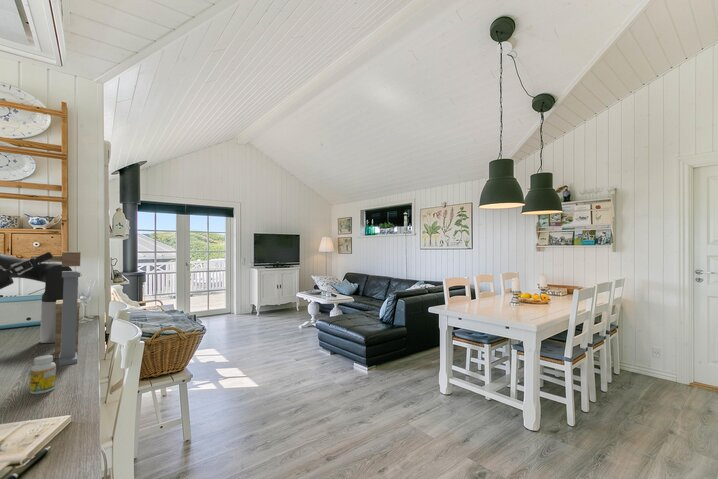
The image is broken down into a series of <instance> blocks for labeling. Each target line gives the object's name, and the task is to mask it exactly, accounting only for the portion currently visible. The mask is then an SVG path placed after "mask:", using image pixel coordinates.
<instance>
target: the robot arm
mask: <svg viewBox="0 0 718 479" xmlns="http://www.w3.org/2000/svg"><path fill="white" fill-rule="evenodd" d="M37 256H38V257H37V259H36V257H35V258H33V259H31V258H30V259H23V258H19V257H16V256H12V255H8V254H5V253H0V290H2V289H4V288H7V287H8V286H11V285H13V284H14V283H15V282H14V279H27V280H32V281H37V282H42V283H45V284H44V292H43V294H42V295H41V306H40V308H41V311H40V312H41V313H40V314H41V315H40V332H39V333H40V335H39V337H40V338H39V342H40V343H41V344H51V343H53V344H54V343H55V330H56V300H63V284H64V277H62V271H73V270H72V268H71V266H65V267H62V263H58V262H44V261H46V260H48V259H50V258H52V257H53V256H54V255H53V254H52V253H51V252H49V251H48V252H45V253H43V254H41V255H37ZM13 278H14V279H13ZM62 310H63V309H62ZM61 337H62V329H61Z"/></svg>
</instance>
